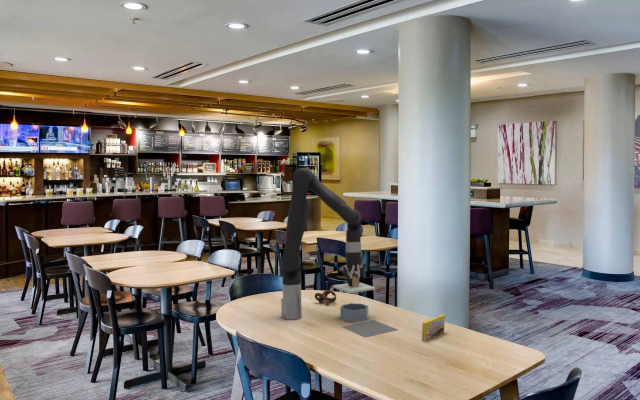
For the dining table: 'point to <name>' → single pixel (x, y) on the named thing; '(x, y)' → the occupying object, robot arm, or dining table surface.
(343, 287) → the lid
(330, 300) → the brown looped knot
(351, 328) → the mat
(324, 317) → the dining table surface
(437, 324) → the candy box
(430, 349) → the dining table surface
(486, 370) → the dining table surface
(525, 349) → the dining table surface
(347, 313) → the bowl
